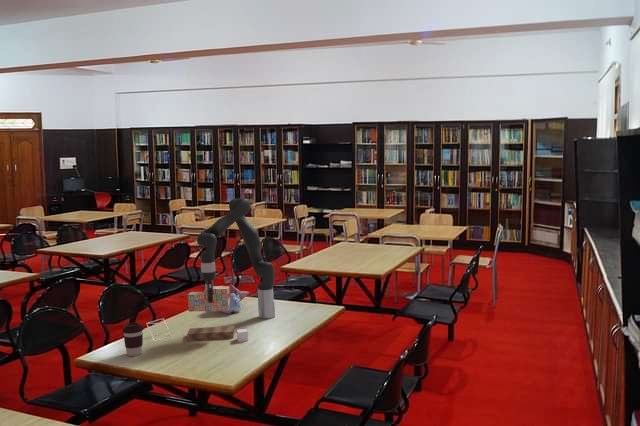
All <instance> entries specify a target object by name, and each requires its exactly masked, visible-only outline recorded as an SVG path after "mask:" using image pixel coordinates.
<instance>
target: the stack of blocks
mask: <svg viewBox="0 0 640 426" xmlns="http://www.w3.org/2000/svg"><path fill="white" fill-rule="evenodd" d="M209 293H211V291H210V292H209ZM212 297H213V302H212V303H209V302H208V292H207V290H206V288H204V291H190V292H189V293H188V294H187V304H188V305H187V306H188V312H223V311H228V310H229V309H230V291H229V286H228V285H218V286H217V285H213V295H212Z"/></svg>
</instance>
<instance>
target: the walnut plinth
mask: <svg viewBox="0 0 640 426" xmlns="http://www.w3.org/2000/svg"><path fill="white" fill-rule="evenodd" d="M186 335H187V336H186V338H187V339H186V340H187V341H203V340H207V341H208V340H220V339H221V340H222V339H223V340H224V339H234V336H235V325H229V326H211V327H210V326H209V327H192V328H191V327H190V328H189V330H188V332H187V333H186Z"/></svg>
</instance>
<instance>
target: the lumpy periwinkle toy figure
mask: <svg viewBox="0 0 640 426" xmlns="http://www.w3.org/2000/svg"><path fill="white" fill-rule="evenodd" d="M227 286H229V291H230V309H229V310H228V311H222V312H223V313H224V314H225V315H231V313H232V312H233V313H238V312H240V311H241V310H242V307H243V304H242V302H241V301H242V300H244V299H245V298H246V297H248V295H249V294H251V292H249V291H243V290H242V291H240V290H239V289H238V288H236V287H235V286H234V285H232V284H231V283H229V284H228V285H227Z"/></svg>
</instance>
